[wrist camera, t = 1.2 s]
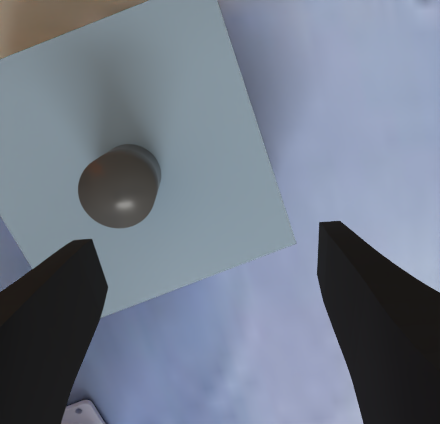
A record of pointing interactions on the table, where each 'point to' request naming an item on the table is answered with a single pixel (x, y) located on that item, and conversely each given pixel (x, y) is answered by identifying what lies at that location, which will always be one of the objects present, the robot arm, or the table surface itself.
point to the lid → (138, 151)
